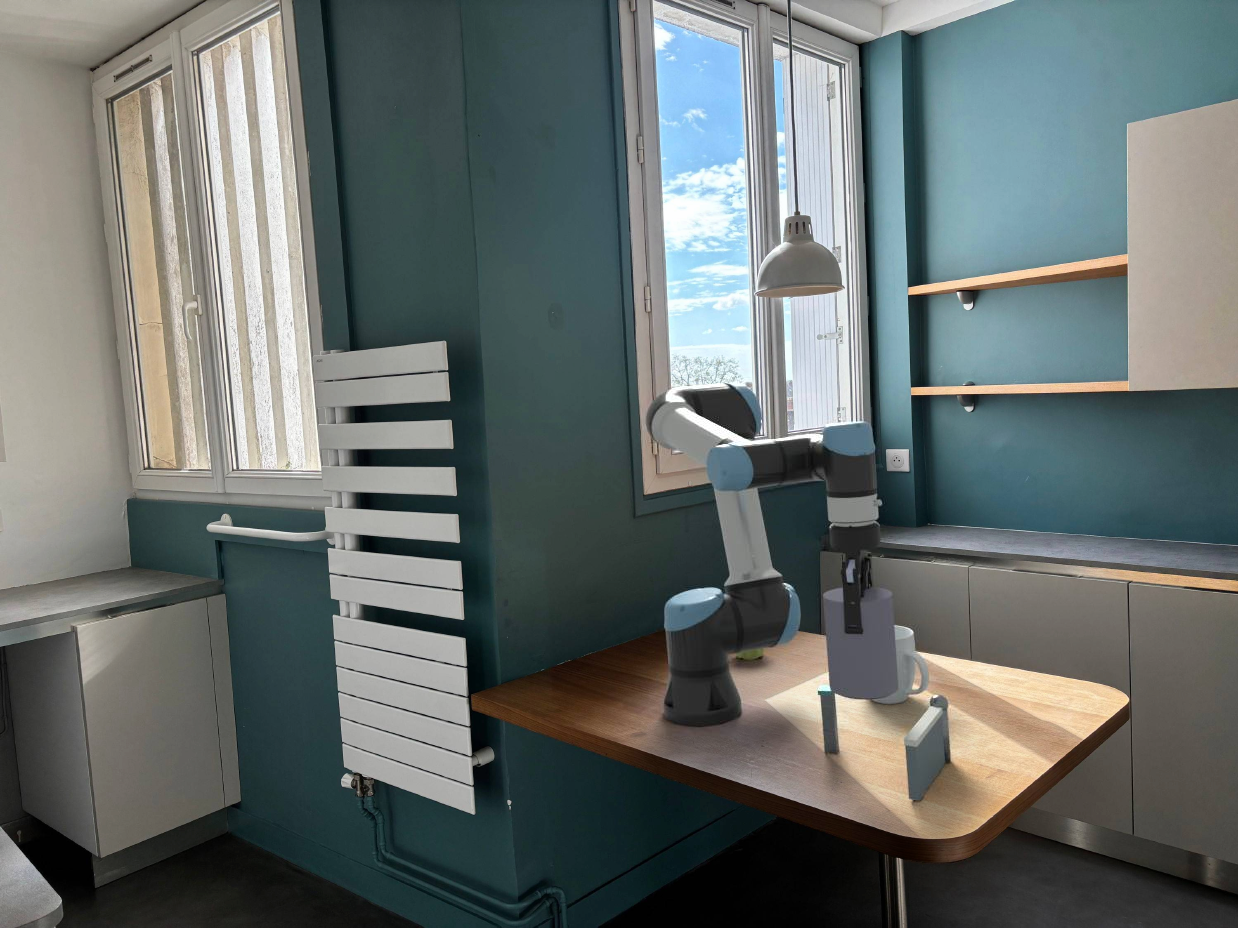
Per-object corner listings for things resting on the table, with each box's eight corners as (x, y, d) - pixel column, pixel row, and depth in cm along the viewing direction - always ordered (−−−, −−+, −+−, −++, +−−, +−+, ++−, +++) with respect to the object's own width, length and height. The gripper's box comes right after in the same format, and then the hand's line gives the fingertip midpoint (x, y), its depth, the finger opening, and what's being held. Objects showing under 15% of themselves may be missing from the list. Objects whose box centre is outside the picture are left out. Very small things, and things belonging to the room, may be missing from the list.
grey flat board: (934, 760, 137) (930, 706, 136) (946, 762, 136) (942, 707, 135) (908, 798, 125) (903, 738, 125) (920, 800, 124) (916, 740, 124)
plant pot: (773, 660, 196) (770, 622, 196) (732, 663, 197) (729, 626, 196) (767, 648, 206) (764, 612, 205) (727, 651, 206) (724, 616, 205)
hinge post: (932, 763, 137) (928, 697, 136) (934, 756, 139) (929, 691, 139) (951, 764, 136) (947, 698, 135) (952, 757, 138) (948, 692, 137)
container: (825, 699, 131) (818, 602, 130) (834, 676, 141) (827, 586, 140) (896, 702, 128) (889, 602, 126) (900, 679, 137) (894, 586, 136)
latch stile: (822, 753, 144) (817, 690, 144) (825, 747, 147) (820, 685, 146) (838, 754, 143) (833, 691, 142) (841, 748, 146) (836, 685, 145)
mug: (948, 702, 162) (943, 633, 161) (910, 718, 156) (905, 647, 155) (884, 684, 174) (879, 621, 173) (846, 699, 168) (841, 633, 167)
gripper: (868, 532, 123) (879, 690, 125) (887, 511, 141) (897, 649, 142) (816, 533, 126) (827, 687, 128) (841, 512, 144) (850, 647, 146)
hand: (864, 667), depth 135 cm, fingers closed on container, 7 cm apart
